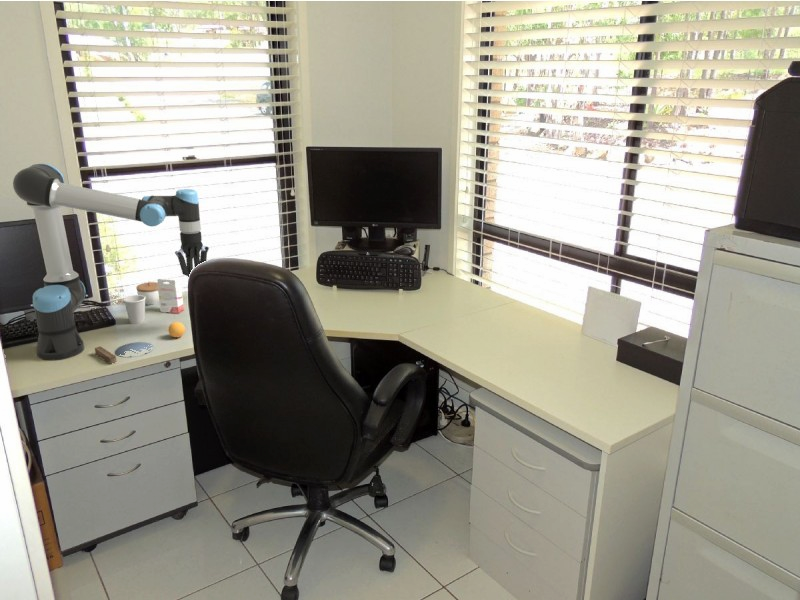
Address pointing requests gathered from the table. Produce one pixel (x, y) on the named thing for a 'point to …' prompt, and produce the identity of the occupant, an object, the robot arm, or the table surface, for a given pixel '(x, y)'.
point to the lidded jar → (149, 292)
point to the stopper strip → (105, 355)
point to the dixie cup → (135, 308)
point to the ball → (176, 329)
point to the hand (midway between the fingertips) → (195, 290)
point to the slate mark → (133, 347)
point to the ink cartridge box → (170, 296)
